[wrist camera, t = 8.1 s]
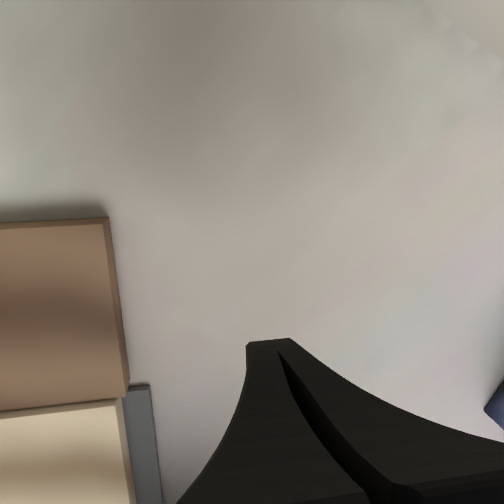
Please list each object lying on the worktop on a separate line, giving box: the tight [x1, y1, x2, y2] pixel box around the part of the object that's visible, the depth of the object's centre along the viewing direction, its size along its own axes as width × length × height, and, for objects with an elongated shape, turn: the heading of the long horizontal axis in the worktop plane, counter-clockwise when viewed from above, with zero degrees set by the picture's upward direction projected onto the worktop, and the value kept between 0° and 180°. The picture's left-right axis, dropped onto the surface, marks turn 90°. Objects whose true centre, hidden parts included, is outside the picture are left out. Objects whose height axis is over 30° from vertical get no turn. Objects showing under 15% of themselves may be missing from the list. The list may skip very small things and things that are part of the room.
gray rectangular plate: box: [121, 385, 163, 504], centre depth 22 cm, size 9×11×1 cm
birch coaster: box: [0, 397, 136, 504], centre depth 21 cm, size 8×8×2 cm
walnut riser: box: [0, 217, 130, 411], centre depth 19 cm, size 9×9×2 cm
